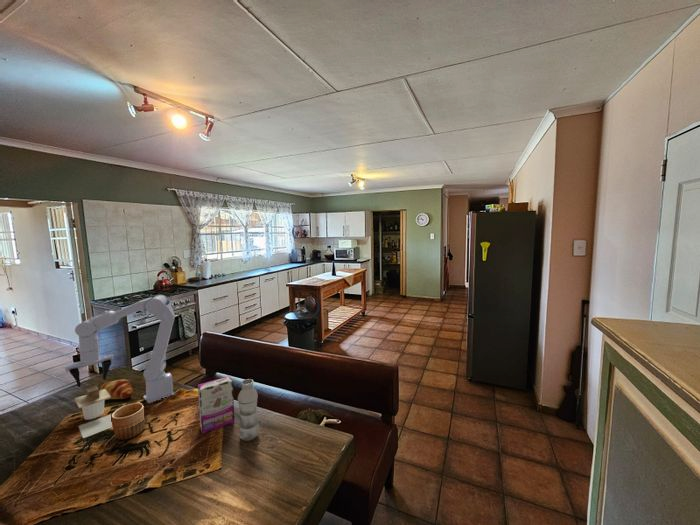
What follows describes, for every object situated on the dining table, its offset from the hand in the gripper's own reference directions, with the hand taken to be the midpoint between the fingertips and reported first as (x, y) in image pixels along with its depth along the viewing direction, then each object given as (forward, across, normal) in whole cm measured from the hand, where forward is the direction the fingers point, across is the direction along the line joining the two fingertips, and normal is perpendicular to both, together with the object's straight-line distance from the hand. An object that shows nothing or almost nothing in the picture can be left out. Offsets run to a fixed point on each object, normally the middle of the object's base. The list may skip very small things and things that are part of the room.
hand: (91, 382), depth 115 cm
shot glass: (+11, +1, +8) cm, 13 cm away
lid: (+3, +1, +8) cm, 9 cm away
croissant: (+11, -9, -5) cm, 15 cm away
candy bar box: (+11, -27, +50) cm, 58 cm away
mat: (+10, +1, +18) cm, 20 cm away
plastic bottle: (+11, -31, +65) cm, 73 cm away
